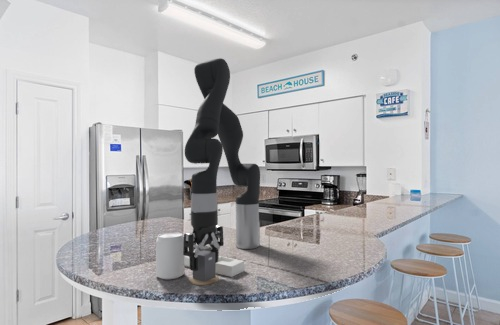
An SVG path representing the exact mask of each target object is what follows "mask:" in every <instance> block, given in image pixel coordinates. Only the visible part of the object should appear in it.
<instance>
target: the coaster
mask: <svg viewBox="0 0 500 325" xmlns="http://www.w3.org/2000/svg"><path fill="white" fill-rule="evenodd" d="M218 281H219V276H218V275H217V274H216V277H215V278H212V279H210V280H208V281H206V282H203V281H200V280H196V279H193V275H192V276H190V278H189V283H190V284H192V285H196V286H209V285H213V284H215V283H217V282H218Z"/></svg>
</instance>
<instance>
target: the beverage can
mask: <svg viewBox="0 0 500 325" xmlns="http://www.w3.org/2000/svg"><path fill="white" fill-rule="evenodd" d="M155 247H156V248H155V256H156V257H155V276H156V277H157V278H160V279H162V280H175V279H178V278H180V277H183V275H184V274H185V268H186V266H184V255H183V247H184V234H183V233H182V232H164V233H160V234H158V235H157V238H156V240H155Z"/></svg>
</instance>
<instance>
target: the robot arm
mask: <svg viewBox="0 0 500 325" xmlns="http://www.w3.org/2000/svg"><path fill="white" fill-rule="evenodd" d="M194 76H195V80H196V84H197V85H198V88H199V91H200V93H201V94H202V96H203V99H204V100H203V101H202V103H201V104H200V105H199V107H198V109H197V114H196V118H195V125H194V127H193V130H192V132H191V134H189V135H190V136H189V137H188V139H187V141H186V143H185V145H184V146H185V147H184V157H185V159H186V160H187V162H188V163H191V164H209V165H208V166H207V168H206V169H205V170H202V171H201V170H200V171H196V172H194V173H192V175H191V197H190V226H191V227H192V232H190V233H188V232H185V233H184V234H183V237H184V247H183V255H184V256H189V258H190V267H189V269H190V271H192V272H193V271H197V270H198V257H197V256H198V254H199V251H200V250H202V248H203V246H207V245H209V247H211V248H212V249H211V252H215V263H217V262H218V258H219V256H220V254H219V252H220V251H219V250H220V249H221V247H224V243H225V242H224V229H223V228H224V226H222V225H218V223H219V222H218V221H219V220H218V213H219V211H218V208H219V206H218V195H217V183H218V182H217V180H218V179H217V178H218V177H217V176H218V171H219V167H220V164H221V159H222V157H223V152H224V155H225V159H226V162H227V166H228V170H229V174H230V178H231V180H232V182H233V184H234V185H235V186H237V187H247V189H246V191H245V192H244V193H242V194H239V195H237V196H236V197H235V248H238V249H241V250H242V249H243V250H251V249H257V248H259V247H260V245H261V240H260V238H261V223H260V215H259V214H260V212H259V211H260V210H259V209H260V204H259V200H260V191H261V190H260V189H261V188H260V187H261V170H260V166H259V164H257V163H242V162H241V160H240V156H239V151H240V148H241V145H242V143H243V138H244V131H243V128H242V125H241V122H240V119H239V117H238V115H237V114H236V113H235V112H234V111H233V110H232V109H231V108H229V107H228V106H227V105H226V104H224V100H225V98H226V95H227V92H228V89H229V84H230V80H231V71H230V68H229V65H228V63H227V61H226V59H225V58H222V57H221V58H220V57H219V58H214V59H210V60H206V61H201V62H198V63H196V64H195V65H194ZM216 136H218V139H217V138H215V137H216ZM194 251H195V252H194Z"/></svg>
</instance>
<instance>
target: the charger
mask: <svg viewBox="0 0 500 325" xmlns="http://www.w3.org/2000/svg"><path fill="white" fill-rule="evenodd" d="M197 257H198V270H197V271H192V276H193V279H196V280H200V281H203V282H206V281H208V280H210V279H212V278H215V277H216V275H217V273H216V272H215V252H211V251H205V250H203V251H200V252H199V254H198V256H197Z"/></svg>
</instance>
